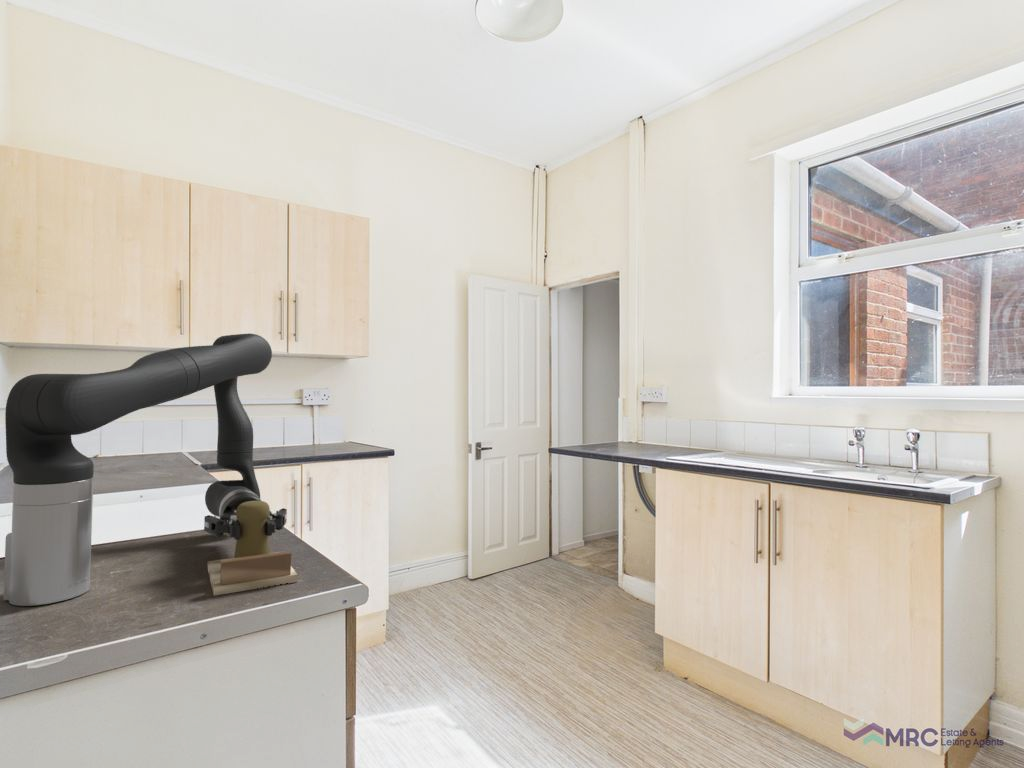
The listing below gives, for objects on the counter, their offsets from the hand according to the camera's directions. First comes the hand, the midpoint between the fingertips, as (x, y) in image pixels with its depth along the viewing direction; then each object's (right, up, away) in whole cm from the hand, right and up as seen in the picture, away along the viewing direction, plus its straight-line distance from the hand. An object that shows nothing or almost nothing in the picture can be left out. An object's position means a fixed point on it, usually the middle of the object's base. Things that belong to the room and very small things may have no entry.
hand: (254, 531), depth 89 cm
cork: (-1, -7, +2) cm, 7 cm away
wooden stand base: (-2, -8, +2) cm, 8 cm away
